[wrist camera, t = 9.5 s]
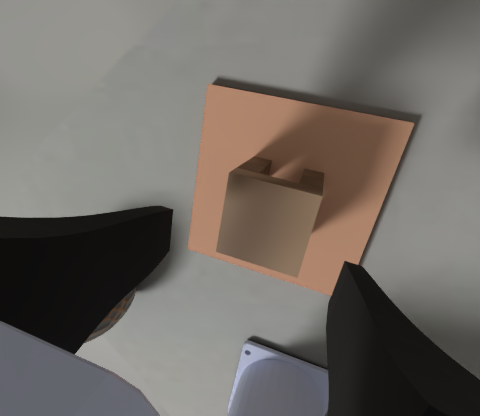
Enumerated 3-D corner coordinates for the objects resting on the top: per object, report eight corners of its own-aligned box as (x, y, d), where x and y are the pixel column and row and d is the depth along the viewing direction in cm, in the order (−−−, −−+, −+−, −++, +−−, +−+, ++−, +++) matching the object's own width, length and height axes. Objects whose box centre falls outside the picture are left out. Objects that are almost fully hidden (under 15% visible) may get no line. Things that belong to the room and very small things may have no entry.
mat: (343, 294, 20) (343, 300, 19) (191, 245, 22) (187, 248, 22) (411, 122, 15) (414, 122, 15) (211, 84, 18) (207, 83, 17)
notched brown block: (324, 173, 17) (322, 196, 13) (305, 237, 19) (297, 278, 14) (254, 156, 18) (229, 172, 14) (241, 218, 20) (215, 251, 15)
